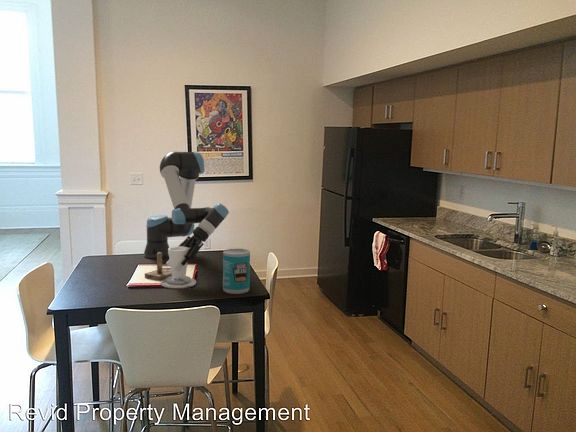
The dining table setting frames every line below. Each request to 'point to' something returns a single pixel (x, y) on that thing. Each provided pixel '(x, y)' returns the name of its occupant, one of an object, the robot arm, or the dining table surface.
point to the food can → (236, 271)
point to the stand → (158, 271)
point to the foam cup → (177, 260)
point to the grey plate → (178, 282)
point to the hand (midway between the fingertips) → (172, 267)
